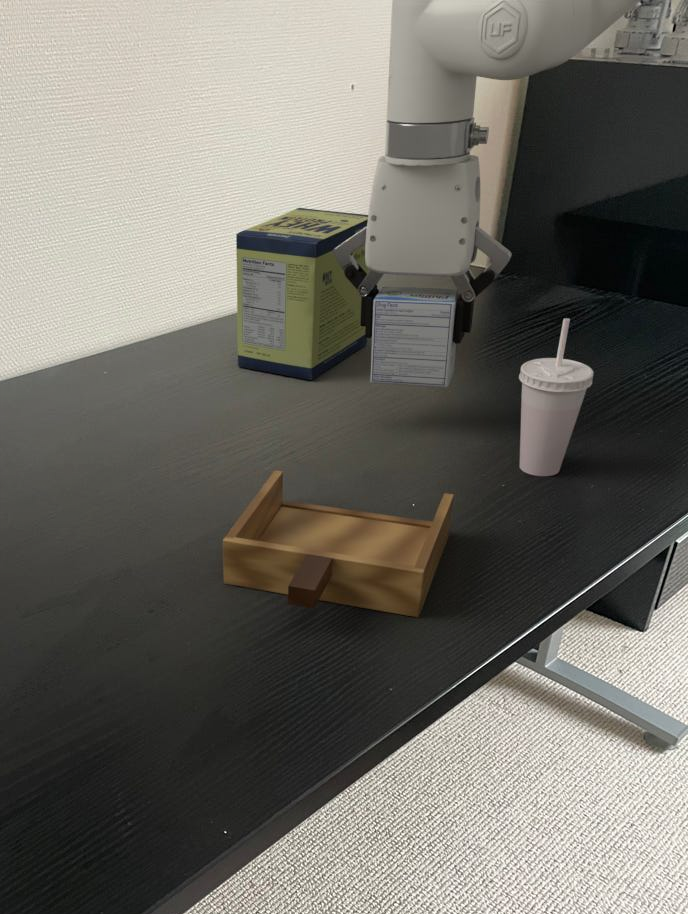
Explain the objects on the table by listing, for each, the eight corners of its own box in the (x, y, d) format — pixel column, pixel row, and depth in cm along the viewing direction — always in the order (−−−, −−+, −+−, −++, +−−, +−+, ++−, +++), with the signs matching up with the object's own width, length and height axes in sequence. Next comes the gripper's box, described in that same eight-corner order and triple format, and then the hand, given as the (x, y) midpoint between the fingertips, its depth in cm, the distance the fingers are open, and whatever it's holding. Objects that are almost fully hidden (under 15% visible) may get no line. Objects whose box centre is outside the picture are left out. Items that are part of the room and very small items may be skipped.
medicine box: (454, 374, 101) (462, 288, 96) (448, 389, 97) (456, 300, 92) (377, 370, 103) (381, 285, 98) (369, 384, 100) (372, 297, 95)
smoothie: (579, 459, 95) (608, 314, 87) (569, 487, 90) (599, 335, 82) (511, 450, 97) (534, 307, 89) (498, 476, 93) (521, 327, 85)
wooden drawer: (449, 534, 84) (454, 492, 81) (405, 653, 70) (410, 606, 68) (275, 508, 89) (275, 468, 86) (201, 615, 75) (199, 570, 72)
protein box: (368, 343, 125) (377, 213, 116) (311, 382, 114) (316, 242, 105) (296, 332, 130) (299, 206, 121) (235, 368, 119) (233, 232, 110)
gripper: (533, 135, 88) (509, 330, 98) (343, 136, 94) (339, 320, 103) (523, 148, 82) (499, 354, 92) (322, 148, 88) (319, 342, 98)
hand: (414, 335), depth 98 cm, fingers closed on medicine box, 8 cm apart
